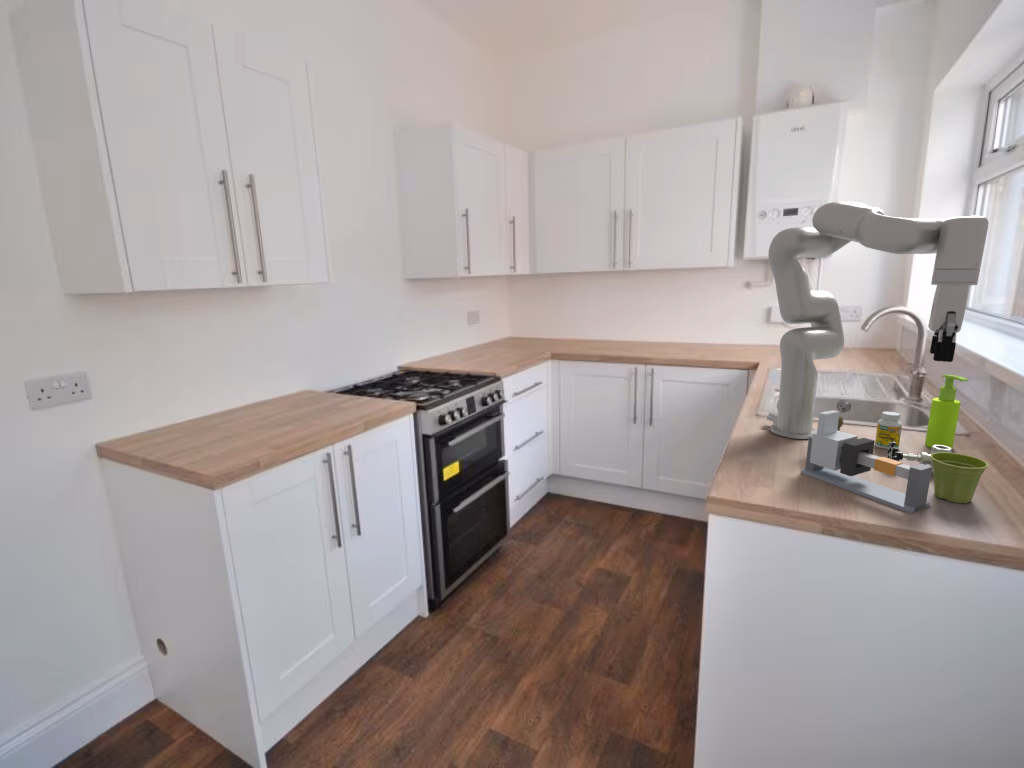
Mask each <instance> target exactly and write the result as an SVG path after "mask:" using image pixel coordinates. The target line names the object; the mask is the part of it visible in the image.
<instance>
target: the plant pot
mask: <svg viewBox="0 0 1024 768" xmlns="http://www.w3.org/2000/svg"><path fill="white" fill-rule="evenodd" d="M930 454H931V453H930ZM930 458H931V459H932V463H933V465H934V474H933V481H934V482H933V483H934V485H933V489H934V490H933V491H934V495H935V496H936V497H937V498H939V499H945V500H947V502H951V503H956V504H957V503H958V504H967V503H968V502H972V500H973V498H974V496H975V491H976V489H977V487H978V484H979V482H980V480H981V476H982V475H983V474H984V472H985V470H986V469H988V468H989V463H988V462H987V461H985V460H983V459H980V458H978V457H974V456H972V455H968V454H962V453H956V452H951V453H947V452H938V453H933V454H931V455H930Z"/></svg>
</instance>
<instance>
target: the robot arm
mask: <svg viewBox="0 0 1024 768" xmlns="http://www.w3.org/2000/svg"><path fill="white" fill-rule="evenodd" d="M811 222H812V227H811V226H809V227H807V226H805V227H804V226H803V227H802V226H801V227H798V226H797V227H789V228H785V229H784V230H781V231H779V232H778V233H776V235H775V236H774V237H773V238H772V240H771V242H770V244H769V247H768V255H767V256H768V262H769V268H770V269H771V272H772V275H773V278H774V279H773V280H774V283H775V290H776V295H777V302H778V307H779V308H778V309H779V314H780V317H781V319H782V320H783V321H784V322H785V323H787V324H789V325H790V324H791V325H802V324H804V325H805V324H810V326H809V327H807V326H806V327H798V328H793V329H790V330H788V331H786V332H785V333H784V334H783V335H782V336H781V338H780V342H779V353H780V360H781V361H780V365H781V367H780V369H781V370H780V382H779V383H780V384H779V391H778V392H779V393H778V401H777V403H778V405H777V413H773V412H769V413H768V415H767V416H766V420H767V421H771V422H772V424H771V425H770V427H769V431H770V432H771V433H772V434H774V435H777V436H779V437H784V438H789V439H794V440H795V439H796V440H809V437H810V436H813V434H814V433H817V428H814V427H813V424H814V417H815V416H814V415H815V405H816V400H817V399H816V396H817V388H818V380H819V376H818V370H817V368H816V365H815V364H814V361H817V360H826V359H827V360H829V359H833V358H835V357H838V356H839V355H840V354H841V353H842V352H843V349H844V346H845V334H844V327H843V324H842V318H841V313H840V312H841V311H840V307H839V303H838V300H837V299H836V298H835V296H834V294H832V293H831V292H829V291H827V290H821V289H820V290H812V289H811V286H810V283H809V275H808V274H807V273H808V272H807V271H806V269H805V268H804V266H803V265H802V264H801V263H800V261H798V260H799V259H814V258H815V259H817V258H818V259H819V258H825V257H829V256H831V255H832V254H834V253H836V252H838V251H839V250H841V249H842V248H843V247H845V246H846V245H848V244H849V243H851V242H855V243H859V244H860V245H861V246H864V248H868V249H871V250H876V251H881V252H885V253H889V254H894V255H896V254H897V255H928V254H929V255H930V254H935V260H934V265H933V271H932V272H933V273H932V277H931V282H930V283H931V284H930V285H931V286H936V288H935V292H934V295H933V300H932V305H931V310H930V311H931V312H930V317H929V319H928V320H929V321H928V328H929V330H930V331H931V332H932V333H933V335H932V338H931V342H930V343H931V344H930V349H929V352H930V354H931V355H933V356H932V357H933V358H932V359H933V361H935V362H945V363H952V362H953V361H954V356H955V352H956V346H957V342H956V340H957V333H959V332H961V329H962V325H963V322H964V317H965V313H966V308H967V303H968V298H969V291H970V286H978V283H979V276H980V272H981V267H982V261H983V256H984V251H985V246H986V240H987V234H988V229H989V219H988V218H987V217H985V216H983V215H982V216H981V215H971V216H966V215H965V216H955V217H954V216H953V217H949V218H928V217H926V218H924V217H922V218H917V217H915V218H912V217H911V218H907V217H906V218H905V217H904V218H903V217H896V216H890V215H885V212H884V211H883V210H882V209H880V208H879V207H874V206H868V205H867V204H865V203H862V202H860V201H859V202H857V201H856V202H855V201H847V202H846V201H832V202H827V203H825V204H823V205H821V206H820V207H818V208H817V209H816V211H815V212H814V213H813V216H812V220H811Z"/></svg>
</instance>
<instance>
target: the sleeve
mask: <svg viewBox="0 0 1024 768" xmlns="http://www.w3.org/2000/svg"><path fill="white" fill-rule="evenodd" d="M839 415H840V411H839V410H835V409H832V410H828V411H827V410H826V411H822V412H819V413H818V420H817V428H816V430H817V433H814V434H813V438H812V447H811V456H810V463H813V464H816V465H819V466H822V467H825V468H828V469H830V470H833V471H836V470H838V471H840V469H841V461H842V458H840V457H841V449H842V446H843V445H844V443H845V442H849V441H853V440H856V439H859V436H858V435H855V434H851V433H848V432H844V431H841V430H840V431H838V430H837V429H838V420H839Z"/></svg>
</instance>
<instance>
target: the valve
mask: <svg viewBox="0 0 1024 768" xmlns="http://www.w3.org/2000/svg"><path fill="white" fill-rule="evenodd" d="M894 445H896V442H891V443H889V444H888V446H889V449H886V453H887V457H886V458H889V459H892V460H896V461H899V462H901V461H903V459H906V461H909V462H914V461H916V462H918V464H925V465H928V466H932V472H931V475H932V474H933V475H934V465H933V463H932V459H931V458H930V455H931V454H933V453H938V452H947V453H952V450H953V449H951V448H950V447H947V446H943V445H933V446H932V448H931V450H930V454H928V452H923V451H921V452H920V453H918V454H916V455H915V453H911V452H907V453H906V454H904V452H903V451H900V450H899V448H898V449H897V448H895V447H894Z"/></svg>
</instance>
